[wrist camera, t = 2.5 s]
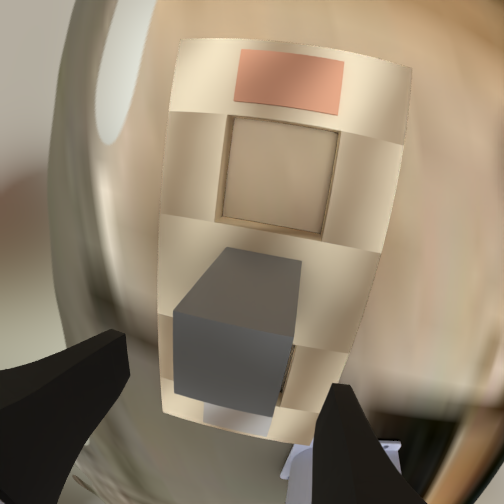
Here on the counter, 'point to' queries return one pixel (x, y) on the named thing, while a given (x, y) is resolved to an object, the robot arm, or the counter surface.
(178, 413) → the socket board
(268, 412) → the plug
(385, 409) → the counter surface
